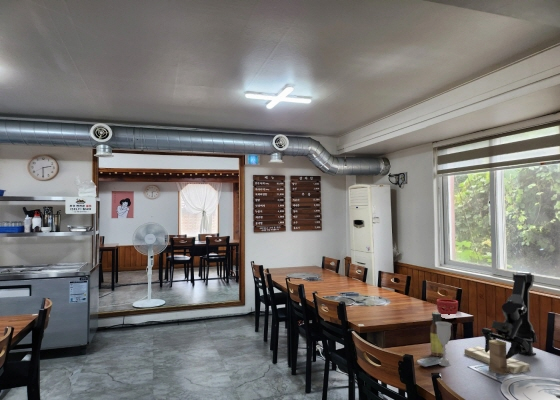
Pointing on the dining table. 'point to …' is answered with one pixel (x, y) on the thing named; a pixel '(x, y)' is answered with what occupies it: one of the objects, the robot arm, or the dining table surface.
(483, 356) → the board
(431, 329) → the sauce bottle
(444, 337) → the chalice
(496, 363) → the tan pillar on plinth
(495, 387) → the dining table surface
